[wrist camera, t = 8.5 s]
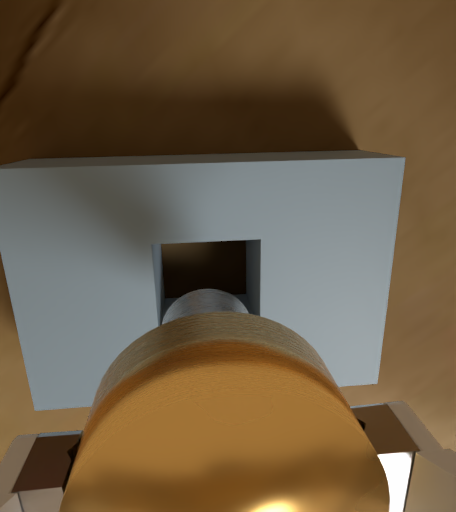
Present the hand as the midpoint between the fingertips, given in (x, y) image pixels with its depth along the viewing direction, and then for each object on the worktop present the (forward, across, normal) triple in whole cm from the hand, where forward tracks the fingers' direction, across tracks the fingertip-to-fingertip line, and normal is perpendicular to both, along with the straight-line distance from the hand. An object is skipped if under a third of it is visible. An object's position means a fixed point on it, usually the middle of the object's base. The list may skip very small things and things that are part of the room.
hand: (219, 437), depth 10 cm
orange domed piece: (+5, 0, 0) cm, 5 cm away
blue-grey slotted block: (+14, 0, 0) cm, 14 cm away
